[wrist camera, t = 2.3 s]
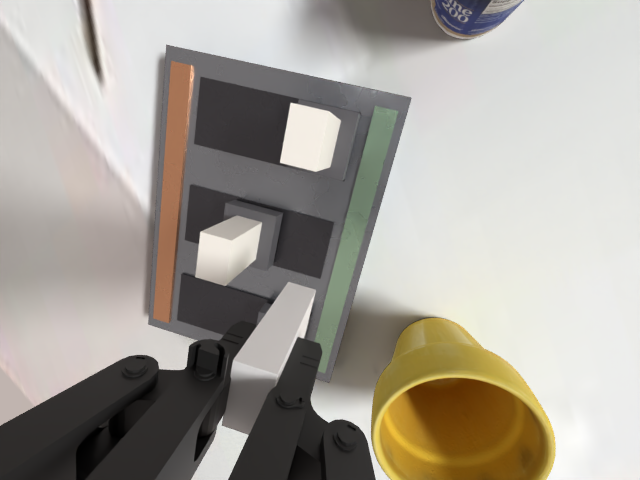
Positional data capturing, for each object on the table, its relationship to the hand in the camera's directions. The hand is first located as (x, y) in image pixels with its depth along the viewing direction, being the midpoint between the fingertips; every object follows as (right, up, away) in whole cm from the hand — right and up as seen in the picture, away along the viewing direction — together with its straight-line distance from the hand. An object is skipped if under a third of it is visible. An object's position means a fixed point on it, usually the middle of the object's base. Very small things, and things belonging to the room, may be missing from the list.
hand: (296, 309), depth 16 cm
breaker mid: (-4, +4, +9) cm, 11 cm away
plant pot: (+11, -6, +12) cm, 17 cm away
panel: (-4, +5, +11) cm, 13 cm away
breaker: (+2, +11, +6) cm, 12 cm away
